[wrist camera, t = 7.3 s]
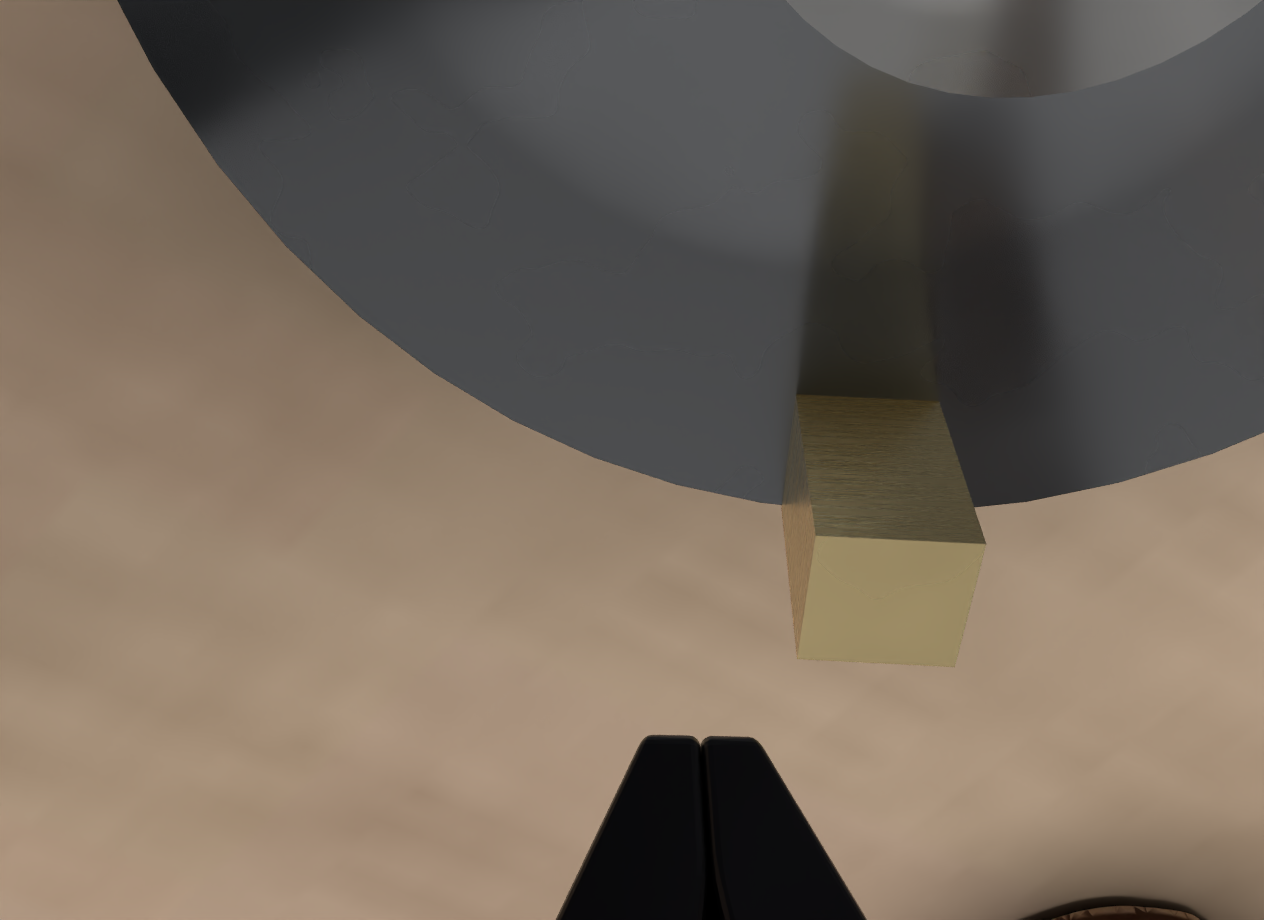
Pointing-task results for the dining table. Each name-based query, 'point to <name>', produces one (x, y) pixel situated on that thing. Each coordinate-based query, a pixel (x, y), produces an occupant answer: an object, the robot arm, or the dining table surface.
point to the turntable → (766, 258)
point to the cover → (1016, 39)
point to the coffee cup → (1128, 914)
